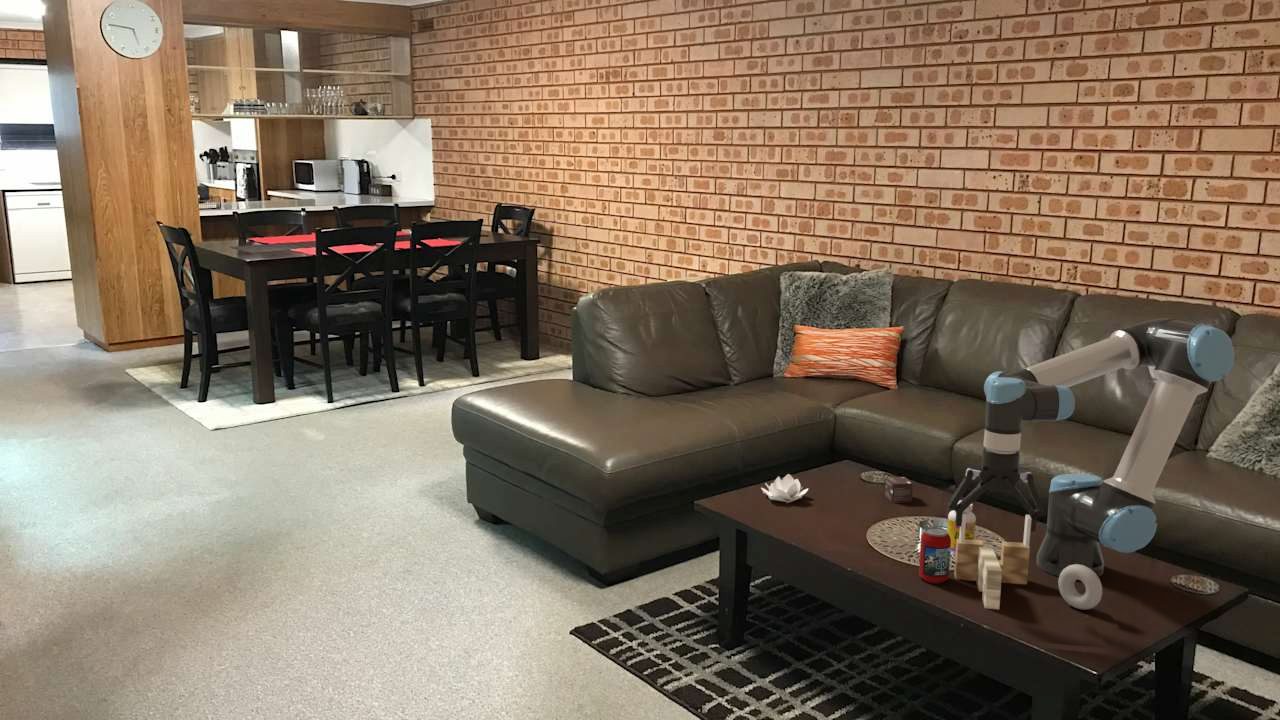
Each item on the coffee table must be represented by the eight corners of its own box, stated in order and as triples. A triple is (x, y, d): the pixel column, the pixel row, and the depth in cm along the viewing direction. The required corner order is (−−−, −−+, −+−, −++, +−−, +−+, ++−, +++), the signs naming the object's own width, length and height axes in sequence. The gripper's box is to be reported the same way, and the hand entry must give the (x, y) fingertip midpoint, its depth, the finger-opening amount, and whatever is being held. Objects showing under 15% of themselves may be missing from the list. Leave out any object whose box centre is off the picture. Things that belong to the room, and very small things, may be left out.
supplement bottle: (950, 556, 260) (953, 507, 258) (942, 547, 267) (945, 499, 264) (977, 556, 261) (980, 507, 258) (968, 547, 267) (971, 498, 265)
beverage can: (928, 586, 242) (931, 537, 240) (913, 575, 249) (916, 527, 246) (954, 583, 244) (957, 534, 242) (938, 572, 251) (941, 524, 248)
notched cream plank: (976, 583, 244) (978, 546, 242) (989, 584, 244) (992, 547, 242) (985, 608, 231) (987, 569, 229) (999, 609, 230) (1002, 570, 228)
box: (884, 501, 302) (885, 477, 301) (904, 500, 303) (905, 476, 302) (891, 508, 297) (892, 483, 295) (911, 507, 297) (913, 483, 296)
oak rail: (1024, 579, 247) (1027, 543, 245) (1026, 584, 244) (1029, 547, 242) (954, 574, 249) (956, 538, 248) (955, 579, 246) (958, 543, 245)
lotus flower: (819, 511, 294) (820, 481, 293) (768, 515, 291) (769, 485, 289) (799, 495, 308) (800, 466, 306) (751, 499, 305) (752, 470, 303)
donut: (1103, 614, 228) (1107, 570, 226) (1094, 618, 226) (1098, 574, 224) (1062, 598, 236) (1065, 556, 234) (1053, 602, 234) (1056, 560, 232)
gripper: (1058, 448, 228) (1049, 541, 231) (939, 441, 232) (933, 532, 236) (1065, 457, 220) (1056, 553, 224) (943, 450, 224) (936, 544, 228)
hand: (993, 542), depth 230 cm, fingers open, 13 cm apart
